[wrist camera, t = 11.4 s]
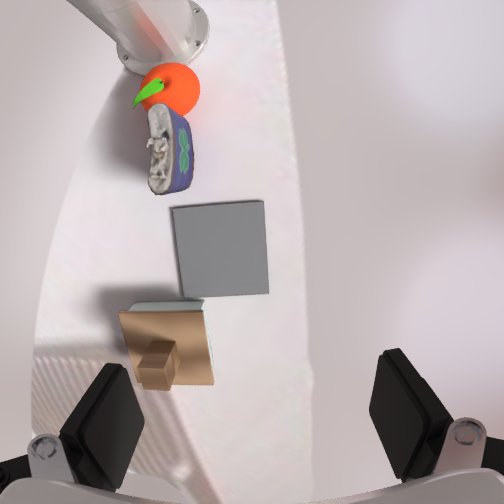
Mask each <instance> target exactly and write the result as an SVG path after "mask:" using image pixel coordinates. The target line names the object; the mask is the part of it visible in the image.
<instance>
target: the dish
mask: <svg viewBox="0 0 504 504" xmlns="http://www.w3.org/2000/svg"><path fill="white" fill-rule="evenodd" d="M163 310H203V311H204V319H205V326H206V333H207V340H208V346H209V353H210V359H211V365H212V368H213V363H214V362H213V356H212V350H211V343H210V337H209V330H208V323H207V316H206V309H205V301H204V300H203V301H176V302H135V303H134V304H133V305H132V307H131V308H130V309H129V310H128V311H163Z"/></svg>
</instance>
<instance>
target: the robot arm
mask: <svg viewBox="0 0 504 504" xmlns="http://www.w3.org/2000/svg"><path fill="white" fill-rule="evenodd" d="M67 1H68V2H69V3H71V4H72V5H73V6H75V7H76V8H77V9H78V10H79V11H80V12H82V13H83V14H84V15H85V16H86V17H88V18H89V19H90V20H91V21H92V22H93V23H95V24H96V25H97V26H98V27H99V28H101V29H102V30H103V31H104V32H105V33H106V34H107V35H109V36H110V37H111V38H112V39H113V40H114V41H115V42H117V53H118V57H119V59H120V60H121V62H122V63H123V64H124V65H125V66H126V67H127V68H128V69H129V70H131V71H132V72H134V73H137V74H139V75H144V76H146V75H147V73H148V72H149V71H150V70H152V69H153V68H154V67H156V66H158V65H161V64H164V63H170V62H171V63H180V64H183V65H185V66H186V65H187V64H189V63H190V62H191V61H192V60H193V59H195V58H196V57H197V56H198V54H199V53H200V52H201V51H202V50H203V48H204V46H205V44H206V42H207V39H208V36H209V29H210V27H209V21H208V18H207V15H206V13H205V12H204V10H203V9H202V8H201V7H200V6H199V5H198V4H196V3H195V2H193V1H191V0H67ZM198 44H199V46H197V45H198ZM369 413H370V416H371V419H372V421H373V424H374V426H375V428H376V430H377V433H378V435H379V437H380V440H381V442H382V444H383V447H384V449H385V452H386V454H387V457H388V459H389V461H390V464H391V466H392V469H393V471H394V474H395V476H396V478H397V479H400V478H401V480H402V484H398V485H395V486H391V487H387V488H384V489H379V490H375V491H371V492H367V493H362V494H357V495H353V496H347V497H342V498H337V499H331V500H324V501H318V502H310V503H301V504H504V440H501V439H496V438H491V437H487V434H486V429H485V427H484V425H483V424H482V423H481V422H480V421H478V420H476V419H473V418H466V417H465V418H460V419H457V420H455V421H454V420H453V418H452V417H451V415H450V414H449V412H448V411H447V410H446V409H445V407H444V405H443V404H442V403H441V401H440V400H439V398H438V397H437V396H436V394H435V393H434V392H433V390H432V389H431V387H430V386H429V385H428V384H427V382H426V381H425V379H424V378H422V377H421V376H420V375H419V373H418V372H417V370H416V369H415V368H414V366H413V365H412V364H411V362H410V361H409V360H408V358H407V357H406V356H405V355H404V353H403V352H402V351H401V349H400V348H395V349H390V350H385V351H384V352H383V355H380V356H379V359H378V365H377V370H376V377H375V381H374V387H373V392H372V396H371V401H370V406H369ZM143 427H144V416H143V414H142V411H141V408H140V406H139V403H138V400H137V398H136V395H135V392H134V389H133V387H132V384H131V381H130V378H129V375H128V372H127V369H126V368H123V366H122V365H121V364H115V363H106V364H105V365H104V367H103V368H102V370H101V371H100V372H99V374H98V375H97V377H96V378H95V380H94V381H93V382H92V384H91V385H90V387H89V388H88V390H87V391H86V393H85V394H84V395H83V397H82V398H81V400H80V401H79V403H78V404H77V406H76V407H75V409H74V410H73V412H72V413H71V415H70V416H69V418H68V419H67V421H66V422H65V424H64V425H63V427H62V428H61V430H60V431H59V432H60V435H59V437H57V436H55V435H52V434H42V435H39V436H37V437H35V438H34V439H33V440H32V441H31V442H30V443H29V445H28V451H27V452H28V454H27V455H24V456H20V457H17V458H14V459H10V460H8V461H4V462H0V504H179V503H171V502H163V501H156V500H150V499H143V498H138V497H132V496H128V495H123V494H118V493H115V491H116V488H117V489H119V488H120V487H121V484H122V482H123V479H124V476H125V474H126V471H127V469H128V466H129V463H130V461H131V458H132V455H133V453H134V450H135V448H136V445H137V442H138V440H139V437H140V435H141V432H142V430H143Z"/></svg>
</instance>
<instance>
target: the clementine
mask: <svg viewBox="0 0 504 504" xmlns="http://www.w3.org/2000/svg"><path fill="white" fill-rule="evenodd" d="M199 94H200V84H199V80H198V78H197V76H196V74H195V73H194V72H193V71H192V70H191V69H190V68H188V67H187V66H185V65H183V64H180V63H171V62H170V63H164V64H161V65H158V66H156V67H154V68H153V69H152V70H150V71H149V72H148V73H147V75H146V76H145V77H144V79H143V81H142V83H141V87H140V93H139V94H138V95H137V97H136V98H135V100H134V102H133V109H134V106H135V105H136V104H138V103H139V102H140V101H141V103H142V105H143V106H144V108H145V109H146V111H147V112H148V110H149V108H151V106H153V105H154V104H156V103H165V104H166V105H168V106H169V107H170V108H171V109H173V110H174V111H175V112H177V113H178V114H179V115H180V116H184V115H185V114H187V113H188V112H189V111H190V110H191V109H192V108H193V107H194V106H195V104H196V102H197V100H198V98H199Z"/></svg>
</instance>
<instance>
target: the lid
mask: <svg viewBox="0 0 504 504" xmlns="http://www.w3.org/2000/svg"><path fill="white" fill-rule="evenodd" d="M118 315H119V319H120V323H121V327H122V331H123V335H124V339H125V342H126V346H127V350H128V353H129V357H130V360H131V363H132V367H133V370H134V373H135V376H136V379H137V383H142V385H143V389H147V390H163V391H170V388H171V385H214V377H213V371H212V365H211V359H210V353H209V346H208V340H207V333H206V326H205V319H204V311H203V310H163V311H120V312H119V313H118Z"/></svg>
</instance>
